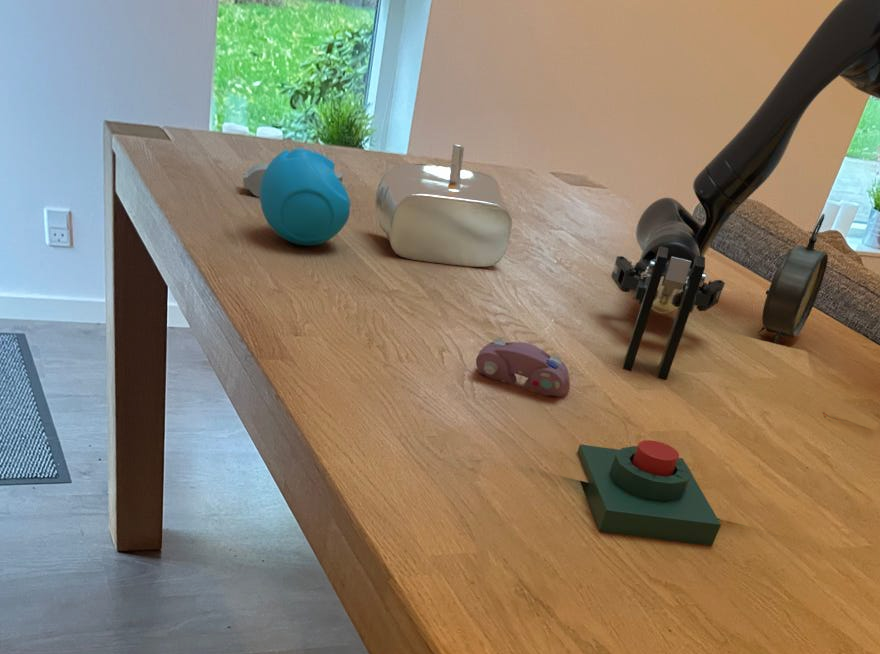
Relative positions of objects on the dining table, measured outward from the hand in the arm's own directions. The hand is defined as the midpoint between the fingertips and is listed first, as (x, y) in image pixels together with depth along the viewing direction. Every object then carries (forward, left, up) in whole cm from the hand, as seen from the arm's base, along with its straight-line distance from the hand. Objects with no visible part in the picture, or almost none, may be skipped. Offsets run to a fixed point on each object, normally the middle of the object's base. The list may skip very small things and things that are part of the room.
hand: (664, 301), depth 113 cm
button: (+6, +37, -4) cm, 38 cm away
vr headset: (+25, -30, -7) cm, 40 cm away
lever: (0, +2, 0) cm, 2 cm away
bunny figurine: (+48, -44, -7) cm, 66 cm away
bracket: (+1, +6, -7) cm, 9 cm away
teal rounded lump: (+44, -22, -7) cm, 50 cm away
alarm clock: (-21, -18, -7) cm, 28 cm away
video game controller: (+16, +17, -7) cm, 25 cm away
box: (+6, +37, -7) cm, 38 cm away
